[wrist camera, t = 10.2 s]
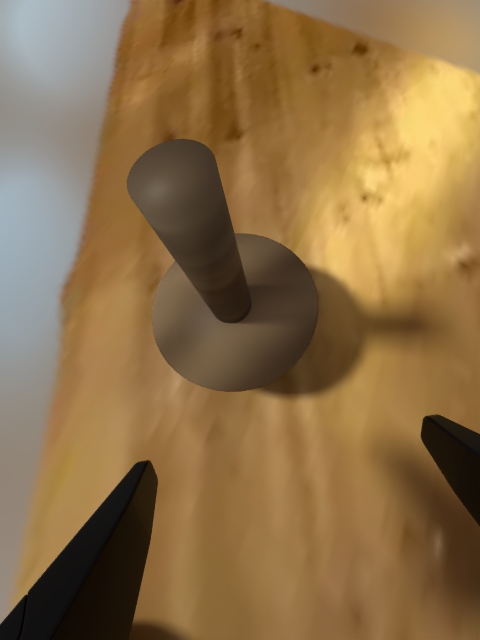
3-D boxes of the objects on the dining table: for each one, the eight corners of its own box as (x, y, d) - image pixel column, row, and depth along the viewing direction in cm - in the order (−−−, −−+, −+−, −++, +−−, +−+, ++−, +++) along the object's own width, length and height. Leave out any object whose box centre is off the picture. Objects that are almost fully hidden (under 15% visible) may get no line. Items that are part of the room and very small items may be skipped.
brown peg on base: (353, 306, 18) (478, 143, 7) (226, 432, 17) (116, 488, 5) (238, 214, 22) (197, 17, 11) (127, 309, 21) (-52, 194, 9)
